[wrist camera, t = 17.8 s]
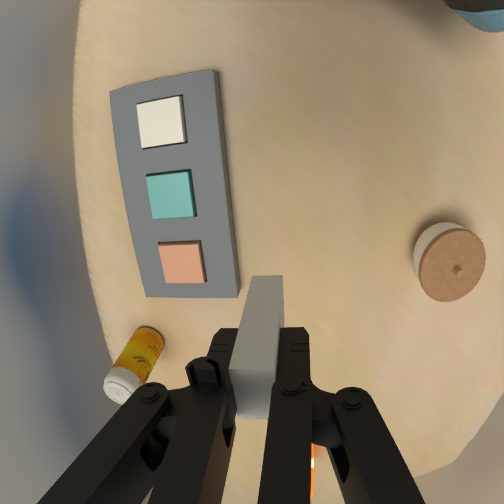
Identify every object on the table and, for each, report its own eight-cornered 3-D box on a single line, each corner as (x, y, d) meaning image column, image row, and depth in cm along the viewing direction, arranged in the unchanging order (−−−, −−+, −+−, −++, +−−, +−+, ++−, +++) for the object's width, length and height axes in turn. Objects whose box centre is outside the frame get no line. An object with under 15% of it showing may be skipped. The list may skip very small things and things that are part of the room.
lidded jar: (443, 198, 41) (473, 217, 32) (472, 248, 43) (500, 274, 34) (390, 243, 45) (410, 272, 36) (424, 289, 47) (445, 322, 38)
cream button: (146, 105, 40) (136, 104, 37) (186, 97, 39) (178, 96, 36) (150, 145, 42) (141, 148, 39) (190, 139, 41) (183, 141, 39)
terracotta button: (165, 238, 48) (158, 246, 45) (203, 236, 47) (197, 244, 44) (172, 273, 50) (165, 283, 47) (208, 273, 49) (204, 283, 46)
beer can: (165, 353, 58) (137, 411, 45) (136, 345, 59) (104, 399, 45) (165, 330, 56) (133, 388, 42) (135, 321, 56) (98, 375, 42)
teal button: (154, 172, 44) (145, 177, 41) (194, 168, 43) (187, 172, 40) (160, 212, 46) (152, 219, 43) (199, 210, 45) (193, 216, 42)
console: (119, 92, 40) (109, 91, 37) (218, 72, 38) (213, 69, 35) (153, 287, 52) (146, 296, 50) (240, 287, 50) (237, 297, 48)
